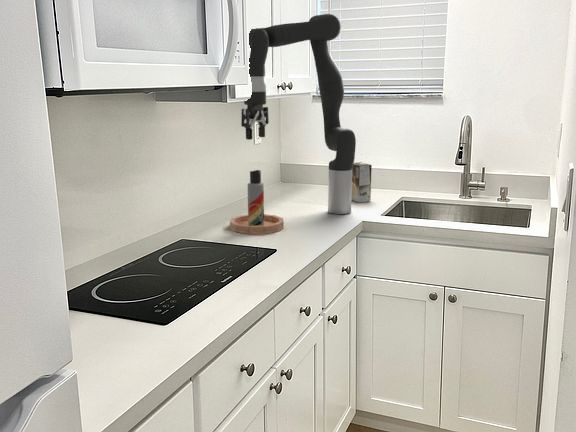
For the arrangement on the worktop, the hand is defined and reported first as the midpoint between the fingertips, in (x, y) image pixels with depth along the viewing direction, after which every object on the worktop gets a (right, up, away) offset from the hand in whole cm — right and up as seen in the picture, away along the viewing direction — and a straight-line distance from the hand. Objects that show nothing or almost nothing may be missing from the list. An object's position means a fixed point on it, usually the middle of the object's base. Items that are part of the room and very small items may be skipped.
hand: (255, 138), depth 199 cm
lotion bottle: (0, -30, +7) cm, 31 cm away
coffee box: (+42, -20, +53) cm, 71 cm away
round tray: (0, -31, +7) cm, 32 cm away
